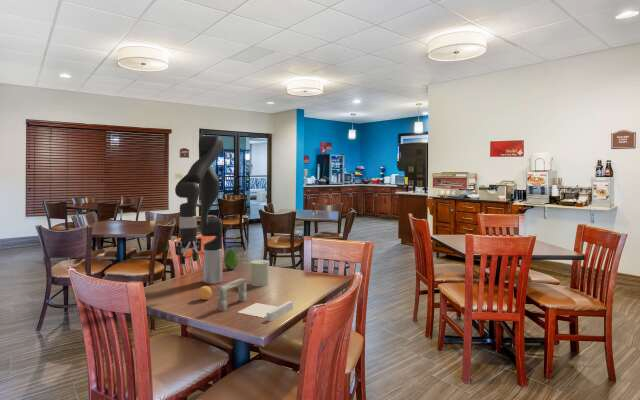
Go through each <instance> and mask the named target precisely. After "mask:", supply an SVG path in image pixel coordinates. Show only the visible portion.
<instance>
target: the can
mask: <svg viewBox="0 0 640 400" xmlns="http://www.w3.org/2000/svg"><path fill="white" fill-rule="evenodd" d="M250 266H251V267H250V268H251V269H250V270H251V274H250V275H251V279H250V280H251V281H250V284H251V286H253V287H266V286H269V285H270V262H269V260H267V259H256V260H255V259H254V260H252V261H251V262H250Z"/></svg>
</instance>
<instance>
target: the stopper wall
mask: <svg viewBox="0 0 640 400" xmlns="http://www.w3.org/2000/svg"><path fill="white" fill-rule="evenodd" d="M293 306H294V302H293V301H292V300H288V301H286V302H284V303H283V304H280V305H279V306H276V308H275V309H273V310H271V311H269V312H267V316H266V321H267V322H268V321H269V322H272V321H275V320H276V319H278V318H279V317H281V316H282V315H285V313H286V314H287V313H288V312H289V311H292V310H293V309H294V307H293Z"/></svg>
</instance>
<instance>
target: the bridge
mask: <svg viewBox="0 0 640 400" xmlns="http://www.w3.org/2000/svg"><path fill="white" fill-rule="evenodd" d="M247 282H248V281H247V278H242V277H241V278H239V279H235V280H232V281H230V282H227V283H225V284H222V285H219V286H217V290H218V291H217V304H218V305H217V308H218V309H217V310H218V311H221V312H224V311H227V310H228V290H229V289H231V288H234V287H237V286H238V287H237V288H238V290H237V291H238V292H237V293H238V302H247V299H248V297H247V296H248V294H247V293H248V290H247V289H248V287H247V286H248V284H247Z"/></svg>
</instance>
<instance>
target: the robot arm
mask: <svg viewBox="0 0 640 400" xmlns="http://www.w3.org/2000/svg"><path fill="white" fill-rule="evenodd" d="M223 149H224V141H223V138H222V137H221V136H218V135H202V136H200V138H199V140H198V153H199V159H198V160H196V161H195V162H193V164H192V165H191V167H190V168H189V170H188V172H187V173H186V175H184V176H182V178H181V179H180V180H179V181H178V182H177V184H176V185H175V188H174V193H175V195H176V196H177V197H178V198H182V199H185V198H186V199H188V200H187V202H184V203H181V204H179V225H178V226H179V230H178V231H179V238H180V241H175V242H174V248H175V249H174V251H175V256H179V263H180V265H186V256H185V255H186V252H187V251H188V250H191V253H192V254H191V255H192V257H191V258H192V262H197V261H198V253H199V252H201V251H202V238H201V237H197V236H198V220H197V205H198V201H199V197H200V206H201V207H200V209H201V210H200V226H199V227H200V235H201V236H202V237H214V238H213V239H211V240H210V241H208V242H206V243H204V244H203V263H202V282H203V283H204V284H209V285H215V284H219V283H220V284H221V283H222V282H223V220H222V219H221V218H220V217H219V218H218V217H215V218H212V217H211V218H210V217H209V218H208V214H209V212H210V210H211V207H212V206H213V205H214V203H215V202H216V200H217V198H218V196H219V195H220V179H219V176H218V175H217V172H216V171H215V169H214V168H213V167H212V165H213V163H214V162H215V161H216V160H217V158H218V157H219V156H220V154H221V153H222V152H223ZM199 184H200V186H199Z"/></svg>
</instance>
